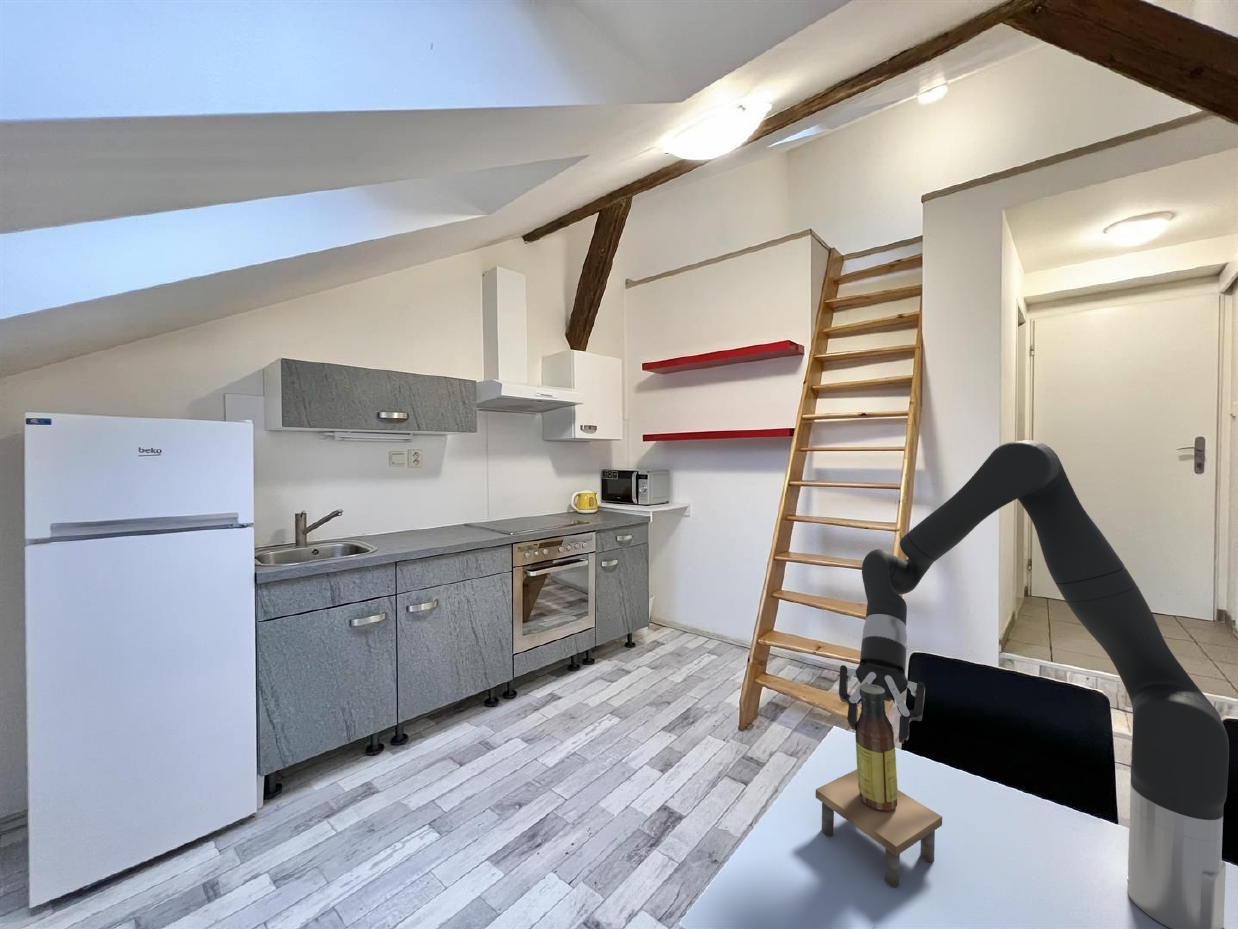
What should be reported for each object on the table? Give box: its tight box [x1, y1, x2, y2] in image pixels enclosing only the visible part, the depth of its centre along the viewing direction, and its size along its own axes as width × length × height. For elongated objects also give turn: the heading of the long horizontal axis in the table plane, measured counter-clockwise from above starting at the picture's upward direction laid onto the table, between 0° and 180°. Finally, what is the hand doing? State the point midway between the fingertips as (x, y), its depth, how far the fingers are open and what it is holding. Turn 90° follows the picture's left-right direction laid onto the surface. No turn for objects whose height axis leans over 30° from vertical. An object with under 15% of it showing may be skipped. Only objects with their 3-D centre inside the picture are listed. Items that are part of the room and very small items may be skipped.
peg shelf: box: [815, 768, 943, 889], centre depth 87 cm, size 15×13×8 cm
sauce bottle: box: [854, 684, 899, 811], centre depth 87 cm, size 6×6×20 cm
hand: (876, 734), depth 85 cm, fingers open, 6 cm apart
